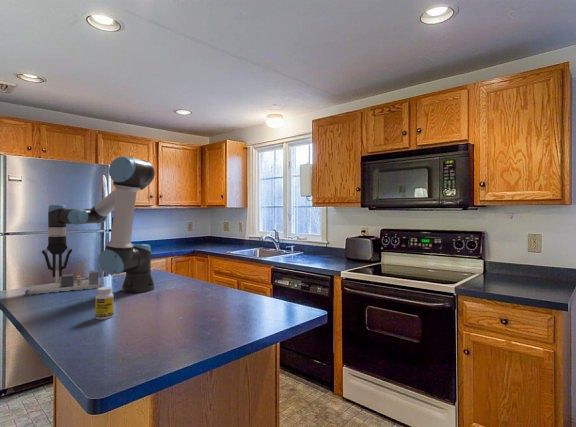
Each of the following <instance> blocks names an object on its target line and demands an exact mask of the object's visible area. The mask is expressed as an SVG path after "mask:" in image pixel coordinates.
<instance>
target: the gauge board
mask: <svg viewBox="0 0 576 427" xmlns="http://www.w3.org/2000/svg"><path fill="white" fill-rule="evenodd" d="M88 277H89V279H88V280H80V282H77V281H74V282H73V286H64V287H61V286H60V283H59V284H55V282H53V283H51V282H50V283H45V284H33V285H30V287H29V289H28V291H27V294H28V296H31V295H30V294H35V295H40V294H39V293H45V294H50V293H49V292H55V293H60V292H59V291H65V292H71V291H70V290H75V291H83V289H85V290H91V289H92V290H93V289H94V288H95V289H98V288H101V287H102V284H101V281H100V279H99V271H98V269H97V270H96V269H95V270H89V271H88ZM95 289H94V290H95Z"/></svg>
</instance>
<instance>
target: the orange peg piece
mask: <svg viewBox="0 0 576 427" xmlns="http://www.w3.org/2000/svg"><path fill="white" fill-rule="evenodd" d="M77 278H81V275H80V271H79V270H78V271H77V275H76V279H77ZM80 281H81V280H77V282H80Z"/></svg>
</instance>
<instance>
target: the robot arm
mask: <svg viewBox="0 0 576 427" xmlns="http://www.w3.org/2000/svg"><path fill="white" fill-rule="evenodd" d="M155 173H156V172H155V167H153V165H152V164H151V163H150V162H149V161H148V160H144V159H140V158H139V159H138V158H135V157H130V156H118V157H116V158H114V159H113V160H112V161H111V163H109V168H108V176H110V179H111V181H113V183H112V185H113V187H114V188H115V189H114V190H112V191H111V192H110V193H108V195H106V196H105V197H103V198H102V199H101V200H100V201H99V202H98V203H96V204H95V205H94V206H92V207H91V208H67V205H66V204H50V205H48V207H47V208H48V209H47V235H48V238H47V247H46V248H45V249H43V250H42V251H41V253H42V255H43V256H44V259H45V264H46V266H47V269H48V270H50V271H52V278H54V279H55V280H54V281H55V282H54V283H55V284H59V277H61V276H62V275H63V274H62V273H63V270H65V269H66V268H67V265H68V262H69V259H70V255H71V253H72V252H73V249H72V248H69V247H68V245H67V236H66V235H67V225H75V226H77V225H83V224H84V225H85V224H102V223H105V222H106V221H107V219H108V215H110V214H111V213H112V212H113V216H112V223H111V231H110V232H111V233H110V240H108V242H107V243H106V245H105V249H104V250H103V251H102V252H100V254H99V255H98V264H99V267H100V269H101V270H102V271H103V272H104V273H105V274H107V275H112V276H113V275H114V276H115V275H121V274H124V273H125V276H124V279H123V282H122V286H121V291H122V292H123V293H126V294H127V293H130V294H133V293H144V292H150V291H153V290H154V289H155V282H154V278H153V276H152V272H151V271H152V249H151V248H152V247H151V245H150V244H146V243H145V244H144V243H143V244H142V243H140V244H139V243H132V241H131V240H132V233H133V232H132V231H133V224H134V216H135V208H136V199H137V192H138V191H142V190H144V189H146V188H147V187H148V186H149V185H150V184H151V183H152V182H153V181H154V179H155ZM65 252H66V255H65V259H64V262H63V258H62V257H63V254H64V253H65ZM48 253H50V254H51V255H52V265H51V261H50V258H49V254H48ZM57 255H58V269H56V268H57V267H56V266H57V263H56V262H57V260H56V258H57V257H56V256H57ZM62 264H63V265H62Z"/></svg>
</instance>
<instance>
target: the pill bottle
mask: <svg viewBox="0 0 576 427" xmlns="http://www.w3.org/2000/svg"><path fill="white" fill-rule="evenodd" d="M112 291H113V290H112V287H111V286H103V287H102V286H101V288H97V293H98V294H96V295H95V297H94V298H95V301H94V302H95V303H94V318H95V319H96V320H107V319H112V318H113V316H114V315H115V314H114V309H115V306H114V301H115V300H114V299H115V298H114V293H112Z"/></svg>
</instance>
